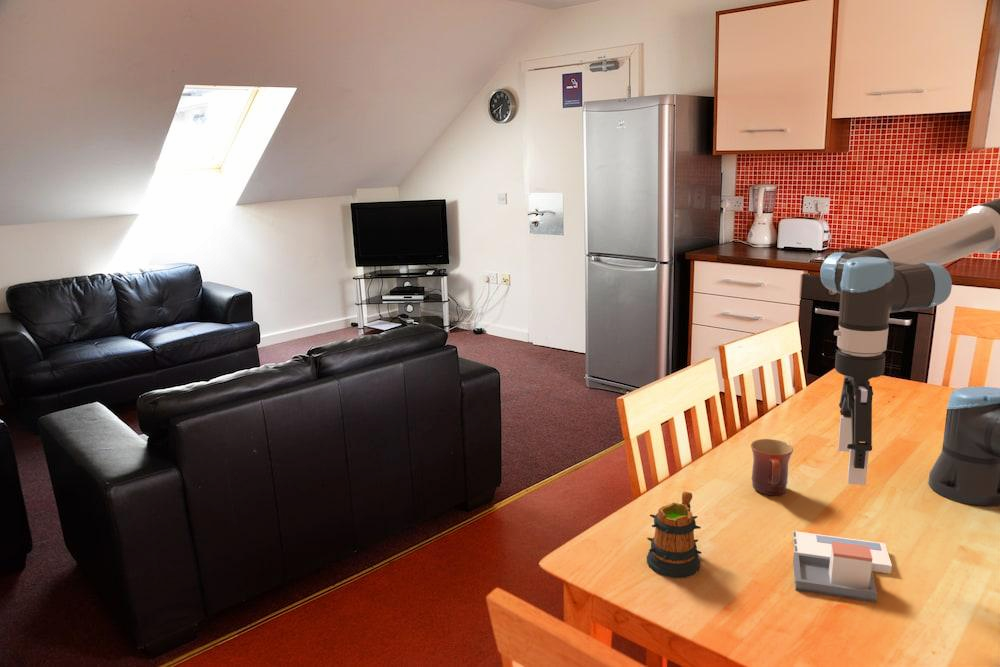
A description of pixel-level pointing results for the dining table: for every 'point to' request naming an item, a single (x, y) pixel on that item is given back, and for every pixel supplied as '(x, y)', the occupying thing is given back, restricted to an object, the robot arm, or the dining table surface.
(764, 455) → the mug
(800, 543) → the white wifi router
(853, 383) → the robot arm
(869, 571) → the block
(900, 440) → the dining table surface
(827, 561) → the tray
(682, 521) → the mug
